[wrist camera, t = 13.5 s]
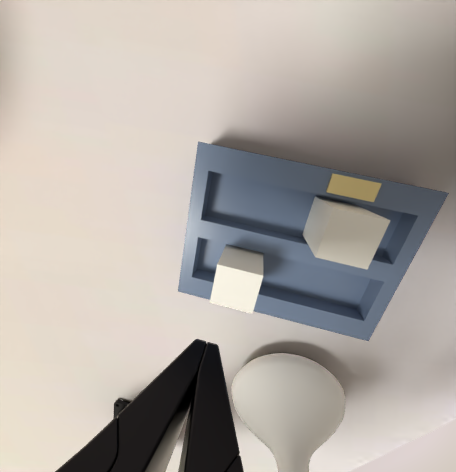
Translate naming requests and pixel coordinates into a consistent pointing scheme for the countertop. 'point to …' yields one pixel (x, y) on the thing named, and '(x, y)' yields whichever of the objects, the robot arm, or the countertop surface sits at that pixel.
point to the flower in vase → (289, 406)
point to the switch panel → (300, 236)
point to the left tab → (238, 278)
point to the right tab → (343, 232)
